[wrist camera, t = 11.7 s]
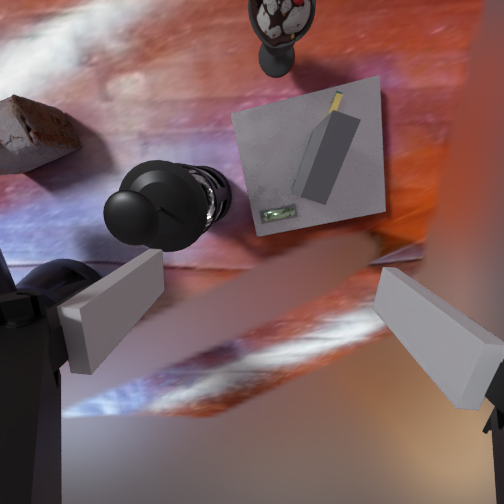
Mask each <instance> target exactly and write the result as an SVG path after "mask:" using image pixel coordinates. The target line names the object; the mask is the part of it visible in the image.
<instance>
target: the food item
mask: <svg viewBox="0 0 504 504" xmlns="http://www.w3.org/2000/svg"><path fill="white" fill-rule="evenodd" d="M80 147H81V144H80V142H79V138H78V136H77V135H76V133H75V132H74V130H73V128H72V127H71V125H70V123H69V121H68V119H67V118H66V116H65V114H64V113H63V112H62V111H61V110H59V109H58V108H55V107H52V106H47V105H45V104H42V103H39V102H35V101H32V100H29V99H27V98H24V97H19V96H17V95H14V94H13V95H12V96H11V97H10V98H7V99H4V100H2V101H0V175H8V174H21V173H25V172H28V171H31V170H33V169H35V168H37V167H39V166H42V165H44V164H46V163H49V162H51V161H54V160H56V159H58V158H60V157H62V156H65V155H67V154H69V153H71V152H73V151H76V150H77V149H79V148H80Z"/></svg>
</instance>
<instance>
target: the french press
mask: <svg viewBox="0 0 504 504" xmlns="http://www.w3.org/2000/svg"><path fill="white" fill-rule="evenodd" d="M215 179H216V180H217V181H218V183H219V184H220V185H221V187H222V188H220V187H219V185H218V183H217V182H216V180H215ZM231 200H232V193H231V188H230V185H229V183H228V181H227V180H226V178H225V177H224V176H223V175H222V174H221V173H220V172H219V171H217V170H216V169H214V168H211V167H208V166H192V165H187V164H180V163H172V162H168V161H161V160H153V161H147V162H144V163H141V164H139V165H137V166H136V167H134V168H133V169H132V170H131V171H129V172H128V173H127V175H126V176H125V178H124V179H123V181H122V183H121V186H120V188H119V191H117V192H116V193H114V194H112V195H111V196H110V197H109V198H108V200H107V201H106V203H105V206H104V211H103V214H104V221H105V224H106V226H107V228H108V230H109V231H110V233H111V234H112V235H113V236H114V237H115V238H117V239H118V240H119V241H121V242H123V243H125V244H128V245H145V246H147V247H149V248H151V249H161V250H162V251H163V252H175V251H179V250H182V249H184V248H187V247H189V246H190V245H191V244H193V243H194V242H195V241H196V240H197V239H198V238H199V237H200V236H201V235H202V234H203V233H205V232H206V231H207V230H208V229H209V228H210V227H211V226H212V224H213V223H214V222H216V221H218V220H220V219H221V218H223V217H224V216H225V214H226V213H227V212H228V210H229V208H230V205H231ZM222 202H223V204H222ZM206 228H207V229H206Z"/></svg>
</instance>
